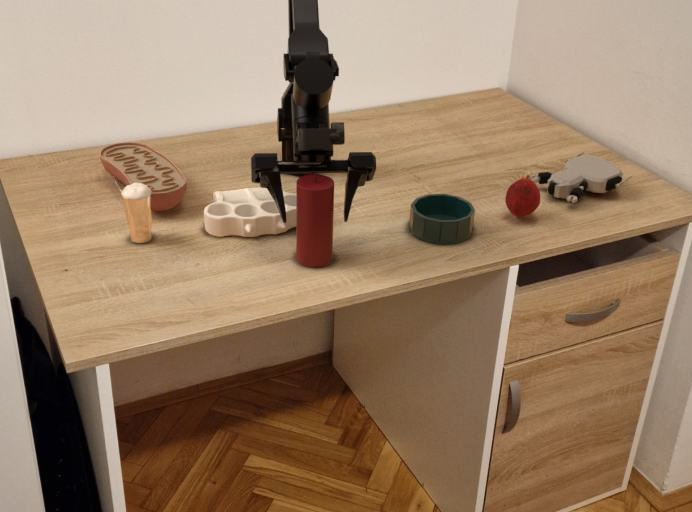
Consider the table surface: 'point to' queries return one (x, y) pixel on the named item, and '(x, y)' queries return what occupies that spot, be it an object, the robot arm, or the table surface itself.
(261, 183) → the robot arm
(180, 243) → the table surface
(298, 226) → the candle
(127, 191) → the milkshake
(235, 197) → the knuckle duster
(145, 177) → the mitochondrion model
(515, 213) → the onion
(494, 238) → the table surface
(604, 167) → the robot toy
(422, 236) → the shallow bowl
